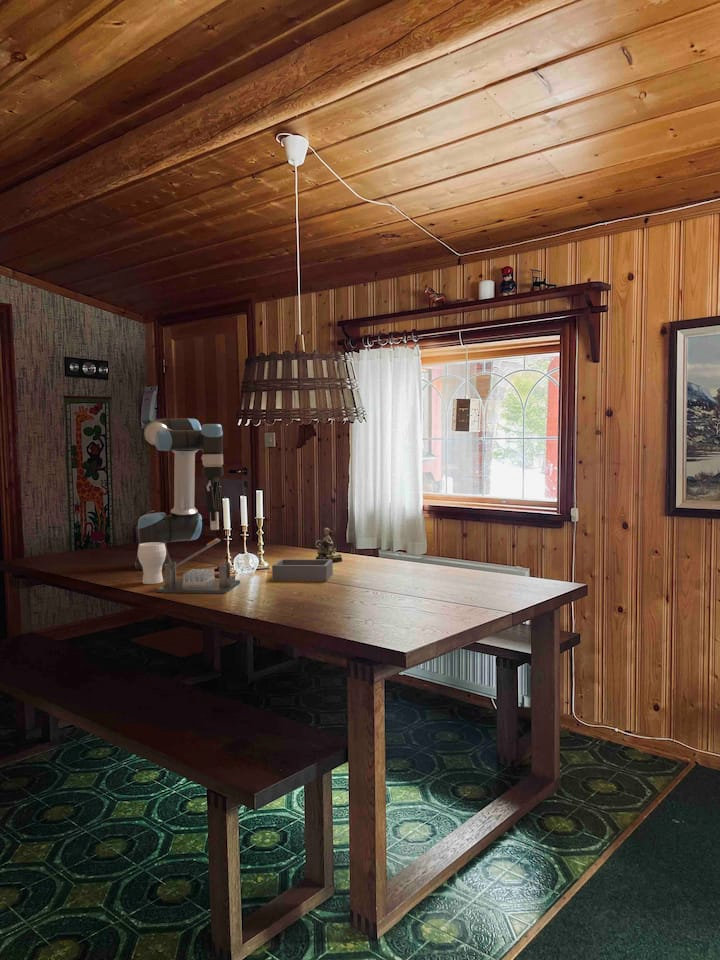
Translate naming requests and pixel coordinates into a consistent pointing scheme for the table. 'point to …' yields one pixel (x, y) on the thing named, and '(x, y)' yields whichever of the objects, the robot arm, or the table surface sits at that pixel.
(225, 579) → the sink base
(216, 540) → the strap
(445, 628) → the table surface
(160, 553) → the cup
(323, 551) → the figurine
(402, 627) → the table surface
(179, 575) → the table surface
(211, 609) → the table surface
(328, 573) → the tray
